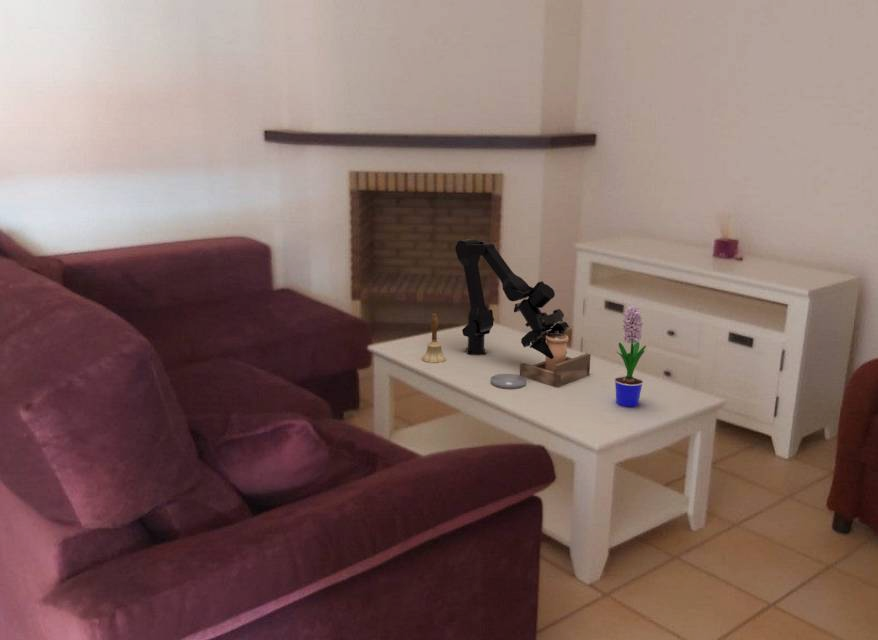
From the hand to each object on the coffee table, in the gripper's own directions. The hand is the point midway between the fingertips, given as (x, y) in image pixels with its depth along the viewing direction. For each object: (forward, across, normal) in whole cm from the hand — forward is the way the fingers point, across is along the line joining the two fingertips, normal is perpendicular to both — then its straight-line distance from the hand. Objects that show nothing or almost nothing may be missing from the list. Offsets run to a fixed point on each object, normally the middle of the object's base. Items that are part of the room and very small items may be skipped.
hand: (559, 355), depth 271 cm
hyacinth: (+25, -4, -15) cm, 30 cm away
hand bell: (-23, -16, +33) cm, 43 cm away
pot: (+4, 0, +6) cm, 7 cm away
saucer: (0, -16, +10) cm, 19 cm away
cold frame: (+4, 0, +6) cm, 7 cm away
